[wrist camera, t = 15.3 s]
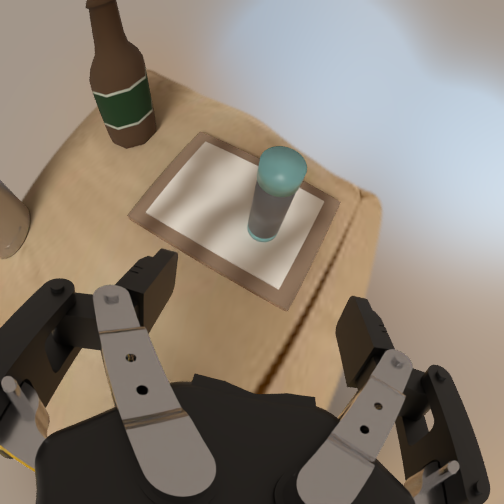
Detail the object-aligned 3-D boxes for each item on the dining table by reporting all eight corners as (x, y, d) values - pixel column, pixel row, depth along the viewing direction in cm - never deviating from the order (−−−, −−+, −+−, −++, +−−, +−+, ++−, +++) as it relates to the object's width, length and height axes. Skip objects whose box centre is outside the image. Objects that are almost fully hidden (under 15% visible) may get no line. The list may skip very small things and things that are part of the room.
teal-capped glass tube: (240, 232, 32) (250, 169, 21) (256, 207, 33) (272, 139, 22) (269, 248, 32) (295, 191, 20) (284, 223, 33) (313, 160, 22)
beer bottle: (104, 149, 36) (53, 15, 14) (122, 115, 39) (90, -9, 16) (149, 151, 36) (114, -2, 14) (164, 115, 39) (147, -21, 17)
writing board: (129, 219, 32) (126, 214, 31) (200, 136, 38) (200, 130, 37) (286, 311, 31) (288, 309, 29) (338, 205, 36) (341, 200, 35)
